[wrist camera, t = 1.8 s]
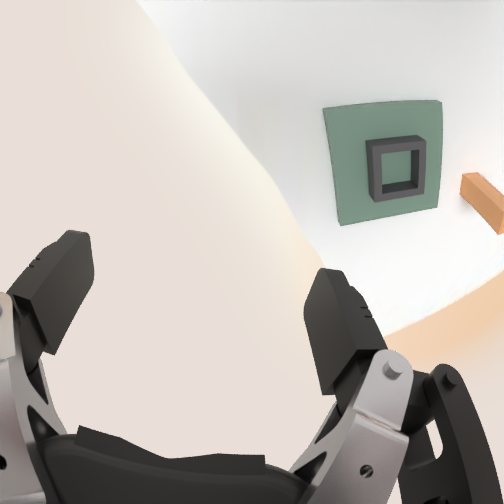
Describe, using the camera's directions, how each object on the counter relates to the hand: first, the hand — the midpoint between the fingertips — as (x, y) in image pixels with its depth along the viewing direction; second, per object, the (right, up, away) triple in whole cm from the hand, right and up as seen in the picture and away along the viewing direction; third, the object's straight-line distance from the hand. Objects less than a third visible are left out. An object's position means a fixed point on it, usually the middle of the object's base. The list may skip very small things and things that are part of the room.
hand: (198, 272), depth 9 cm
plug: (+40, +13, +27) cm, 50 cm away
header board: (+22, +14, +26) cm, 37 cm away
